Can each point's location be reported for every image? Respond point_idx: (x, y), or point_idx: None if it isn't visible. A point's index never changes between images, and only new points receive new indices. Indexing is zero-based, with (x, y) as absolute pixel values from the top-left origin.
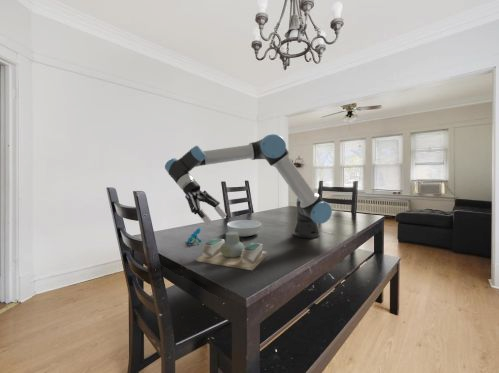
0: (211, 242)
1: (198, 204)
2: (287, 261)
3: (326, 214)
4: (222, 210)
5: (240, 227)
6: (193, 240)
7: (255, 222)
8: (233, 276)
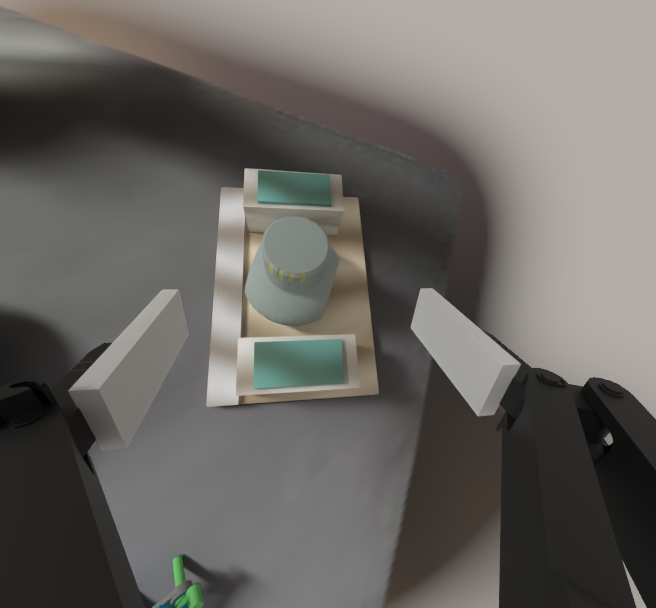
0: (320, 362)
1: (564, 439)
2: (257, 137)
3: None
4: (148, 321)
5: None
6: (200, 593)
7: None
8: (407, 231)
